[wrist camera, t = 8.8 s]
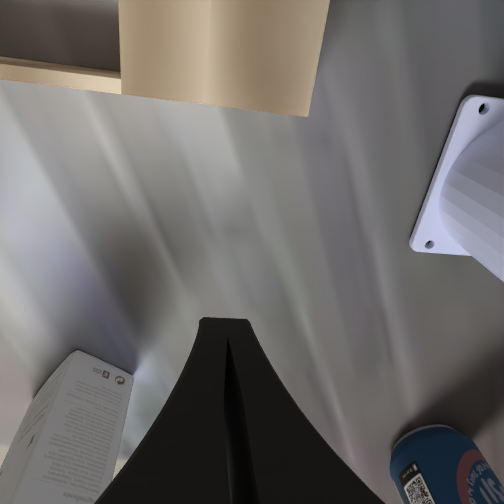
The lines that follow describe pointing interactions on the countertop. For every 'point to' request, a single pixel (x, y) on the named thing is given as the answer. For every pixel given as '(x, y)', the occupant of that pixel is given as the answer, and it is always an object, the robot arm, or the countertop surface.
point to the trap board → (204, 54)
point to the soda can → (442, 469)
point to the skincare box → (68, 435)
